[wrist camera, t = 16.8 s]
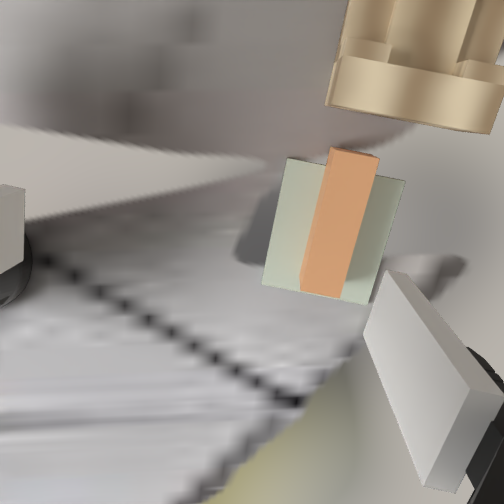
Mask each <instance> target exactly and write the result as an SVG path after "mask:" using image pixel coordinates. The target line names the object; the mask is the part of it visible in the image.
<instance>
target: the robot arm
mask: <svg viewBox="0 0 504 504" xmlns="http://www.w3.org/2000/svg"><path fill="white" fill-rule="evenodd" d="M24 217H25V189H22V188H18V187H13V186H8V185H4V184H3V185H0V308H2V307H3V306H5V305H6V304H8V303H9V302H10V301H12V300H13V299H15V298H16V297H17V296H18V295H19V294H20V293H21V292H22V291H23V289H24V288H25V286H26V284H27V282H28V280H29V277H30V273H31V267H32V257H31V250H30V246H29V243H28V240H27V237H26V235H25V233H24ZM363 336H364V339H365V341H366V344H367V347H368V349H369V352H370V354H371V357H372V359H373V362H374V364H375V367H376V369H377V372H378V374H379V377H380V379H381V382H382V384H383V387H384V389H385V392H386V395H387V397H388V400H389V402H390V404H391V407H392V410H393V412H394V415H395V417H396V419H397V422H398V425H399V427H400V430H401V432H402V435H403V438H404V440H405V443H406V445H407V448H408V450H409V453H410V455H411V458H412V460H413V463H414V465H415V468H416V470H417V473H418V475H419V478H420V480H421V483H422V486H423V487H427V488H432V489H437V490H441V491H446V492H451V493H456V491H457V489H458V488H459V486H460V484H461V482H462V480H463V478H464V476H465V474H466V473H467V475H468V477H469V479H470V481H471V483H472V485H473V487H474V489H475V490H474V492H473V493H472V495H471V497H470V499H469V501H468V502H467V504H504V383H503V380H502V379H501V378H500V376H499V375H498V374H496V373H495V371H494V369H493V368H492V367H491V366H490V365H489V364H488V362H487V361H486V360H485V359H484V358H483V357H481V356H480V355H478V354H477V353H476V352H475V351H473V350H472V349H470V348H469V347H465V345H464V344H463V343H462V342H461V341H460V339H459V338H458V337H457V336H456V334H455V333H454V332H453V331H452V329H451V328H450V327H449V326H448V325H447V323H446V322H445V321H444V320H443V318H442V317H441V316H440V315H439V313H438V312H437V311H436V310H435V308H434V307H433V306H432V305H431V303H430V302H429V301H428V300H427V298H426V297H425V296H424V295H423V294H422V292H421V291H420V290H419V289H418V287H417V286H416V285H415V284H414V282H413V281H412V280H411V279H410V278H409V276H408V275H407V274H405V273H400V272H396V271H391V270H387V269H386V271H385V273H384V276H383V279H382V282H381V285H380V288H379V290H378V293H377V296H376V299H375V302H374V304H373V307H372V310H371V313H370V316H369V319H368V321H367V324H366V327H365V330H364V333H363Z"/></svg>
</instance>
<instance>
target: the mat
mask: <svg viewBox="0 0 504 504" xmlns="http://www.w3.org/2000/svg"><path fill="white" fill-rule="evenodd" d="M325 167H326V165H322V164H317V163H312V162H307V161H302V160H296V159H291V158H287V161H286V166H285V171H284V175H283V180H282V185H281V190H280V195H279V200H278V204H277V210H276V214H275V219H274V224H273V229H272V233H271V239H270V243H269V248H268V253H267V258H266V262H265V267H264V272H263V277H262V282H261V285H266V286H271V287H276V288H282V289H287V290H292V291H297V292H302V293H307V294H312V295H317V296H322V297H327V298H332V299H337V300H342V301H347V302H352V303H357V304H362V305H368V301H369V298H370V295H371V292H372V288H373V285H374V282H375V279H376V276H377V272H378V269H379V266H380V263H381V259H382V256H383V253H384V250H385V247H386V243H387V240H388V237H389V234H390V230H391V227H392V224H393V220H394V218H395V214H396V211H397V207H398V205H399V201H400V198H401V195H402V192H403V189H404V185H405V181H404V180H399V179H394V178H389V177H384V176H379V175H375V177H374V181H373V184H372V188H371V191H370V195H369V198H368V202H367V205H366V209H365V212H364V216H363V219H362V223H361V226H360V230H359V233H358V237H357V240H356V243H355V247H354V250H353V254H352V257H351V261H350V264H349V268H348V271H347V275H346V278H345V282H344V285H343V289H342V292H341V296H340V299H339V298H334V297H329V296H324V295H319V294H314V293H309V292H304V291H300V280H299V274H300V270H301V266H302V262H303V258H304V254H305V249H306V245H307V241H308V237H309V233H310V229H311V225H312V221H313V217H314V213H315V208H316V204H317V200H318V196H319V192H320V188H321V184H322V180H323V176H324V171H325Z"/></svg>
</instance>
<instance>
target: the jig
mask: <svg viewBox="0 0 504 504" xmlns="http://www.w3.org/2000/svg"><path fill="white" fill-rule="evenodd" d="M503 39H504V0H348V4H347V9H346V13H345V17H344V22H343V26H342V30H341V35H340V39H339V44H338V48H337V52H336V57H335V61H334V66H333V70H332V74H331V79H330V83H329V88H328V92H327V96H326V101H325V105H324V106H330V107H335V108H340V109H345V110H350V111H356V112H361V113H366V114H371V115H376V116H382V117H387V118H392V119H397V120H402V121H408V122H413V123H418V124H423V125H429V126H434V127H439V128H444V129H450V130H454V131H462V132H470V133H480V134H490V132H491V129H492V127H493V124H494V121H495V118H496V116H497V113H498V110H499V108H500V105H501V102H502V99H503V97H504V66H500V65H495V62H496V59H497V57H498V54H499V51H500V48H501V45H502V42H503Z"/></svg>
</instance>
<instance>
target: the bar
mask: <svg viewBox="0 0 504 504" xmlns="http://www.w3.org/2000/svg"><path fill="white" fill-rule="evenodd" d="M379 160H380V159H379V158H377V157H375V156H373V155H371V154H367V153H362V152H357V151H352V150H347V149H342V148H336V147H330V151H329V155H328V159H327V163H326V167H325V171H324V176H323V180H322V184H321V188H320V192H319V196H318V200H317V204H316V208H315V213H314V217H313V221H312V225H311V229H310V233H309V237H308V241H307V245H306V249H305V254H304V258H303V262H302V266H301V270H300V274H299V280H300V291H304V292H309V293H314V294H319V295H324V296H329V297H334V298H339V299H340V296H341V292H342V289H343V285H344V282H345V278H346V275H347V271H348V268H349V264H350V261H351V257H352V254H353V250H354V247H355V243H356V240H357V237H358V233H359V230H360V226H361V223H362V219H363V216H364V212H365V209H366V205H367V202H368V198H369V195H370V191H371V188H372V184H373V181H374V177H375V174H376V170H377V167H378V163H379Z"/></svg>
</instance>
